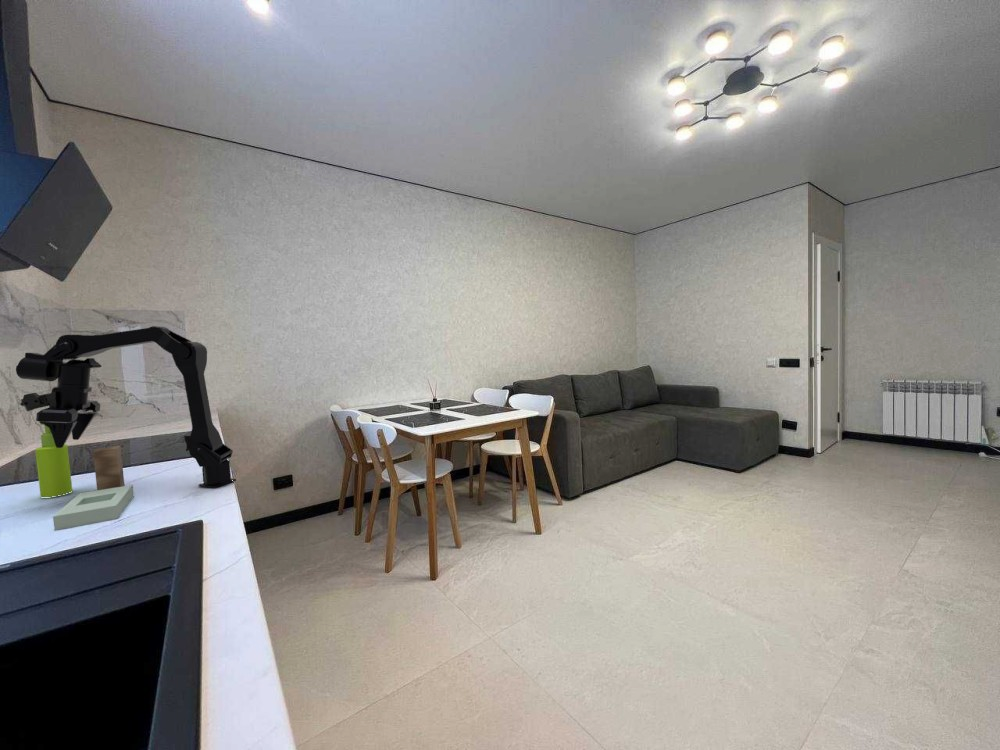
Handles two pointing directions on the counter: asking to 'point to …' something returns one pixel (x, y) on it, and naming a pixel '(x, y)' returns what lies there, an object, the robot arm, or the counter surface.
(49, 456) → the soap dispenser
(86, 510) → the sage rectangular frame
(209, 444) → the robot arm
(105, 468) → the walnut post
